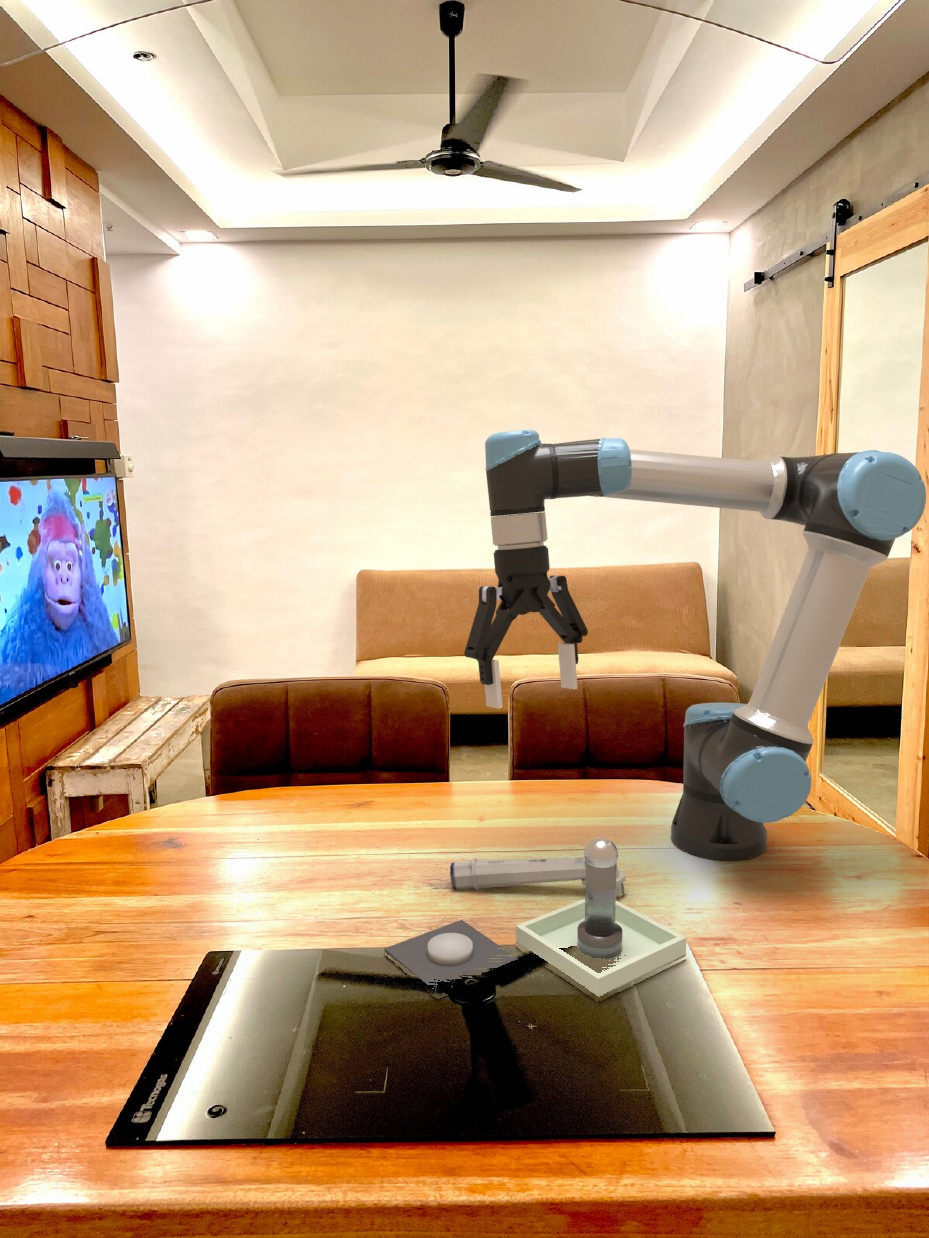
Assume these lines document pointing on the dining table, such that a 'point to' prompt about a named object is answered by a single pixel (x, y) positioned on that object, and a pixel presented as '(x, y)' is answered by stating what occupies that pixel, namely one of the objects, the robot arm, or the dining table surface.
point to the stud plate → (448, 953)
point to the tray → (641, 945)
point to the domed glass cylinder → (600, 902)
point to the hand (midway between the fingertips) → (533, 697)
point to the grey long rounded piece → (521, 872)
